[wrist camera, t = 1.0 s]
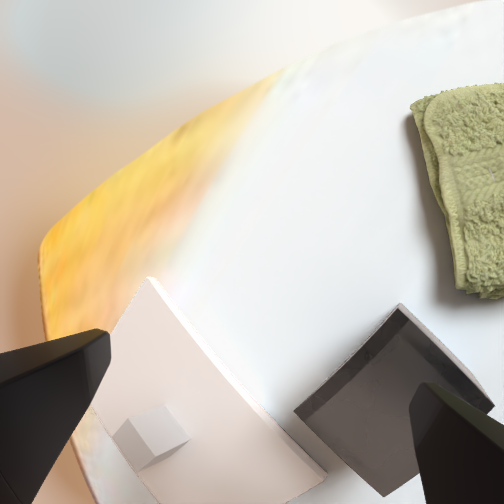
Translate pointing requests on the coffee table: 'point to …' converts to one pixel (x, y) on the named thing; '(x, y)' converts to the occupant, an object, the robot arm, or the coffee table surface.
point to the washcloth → (468, 179)
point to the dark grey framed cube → (385, 399)
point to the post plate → (192, 415)
